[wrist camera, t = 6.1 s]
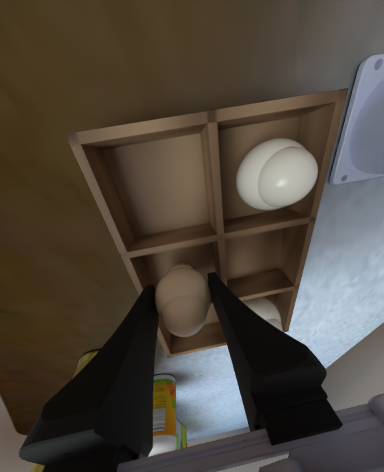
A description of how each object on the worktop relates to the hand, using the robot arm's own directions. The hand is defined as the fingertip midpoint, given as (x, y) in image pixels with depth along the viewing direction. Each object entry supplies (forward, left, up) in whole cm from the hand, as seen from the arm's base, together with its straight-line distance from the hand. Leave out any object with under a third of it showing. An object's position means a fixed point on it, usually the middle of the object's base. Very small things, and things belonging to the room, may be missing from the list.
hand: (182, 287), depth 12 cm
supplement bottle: (+8, +25, -4) cm, 27 cm away
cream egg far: (-7, +7, -3) cm, 11 cm away
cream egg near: (-7, -7, -3) cm, 11 cm away
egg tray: (-4, 0, -4) cm, 5 cm away
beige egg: (0, 0, -2) cm, 2 cm away
